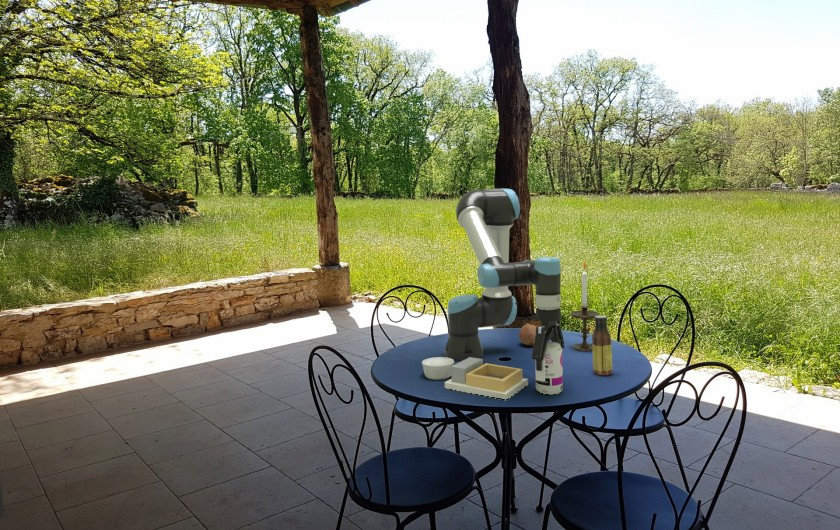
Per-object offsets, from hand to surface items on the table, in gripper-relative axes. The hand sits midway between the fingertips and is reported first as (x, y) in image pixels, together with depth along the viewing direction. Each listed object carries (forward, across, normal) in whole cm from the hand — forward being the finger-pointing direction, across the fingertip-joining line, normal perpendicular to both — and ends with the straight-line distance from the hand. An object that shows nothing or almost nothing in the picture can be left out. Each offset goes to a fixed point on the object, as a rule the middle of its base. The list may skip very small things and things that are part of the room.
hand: (549, 374), depth 168 cm
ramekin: (+6, -4, +39) cm, 40 cm away
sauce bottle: (+6, +25, -9) cm, 27 cm away
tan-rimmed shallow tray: (+5, -6, +19) cm, 21 cm away
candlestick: (+6, +52, +6) cm, 53 cm away
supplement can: (+6, 0, 0) cm, 6 cm away
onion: (+6, +47, +27) cm, 55 cm away
